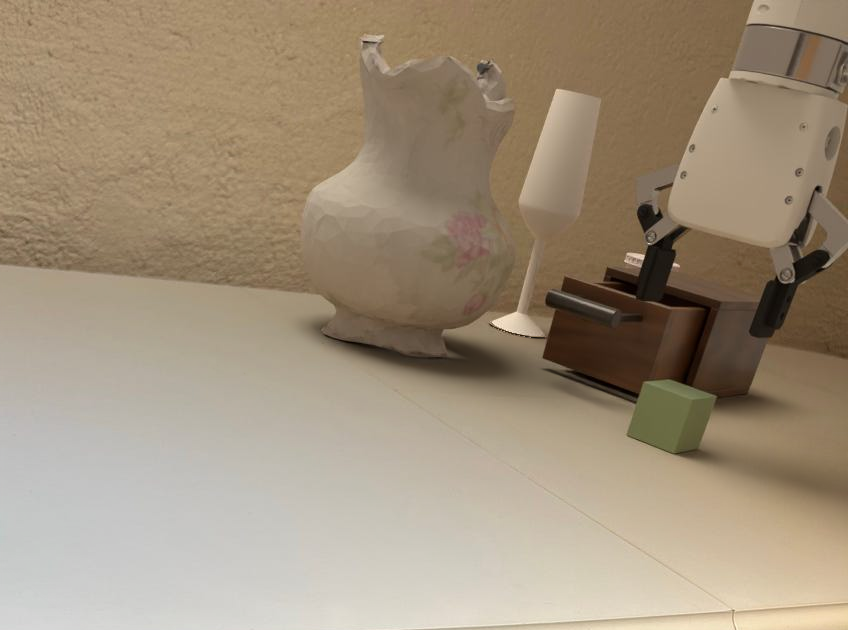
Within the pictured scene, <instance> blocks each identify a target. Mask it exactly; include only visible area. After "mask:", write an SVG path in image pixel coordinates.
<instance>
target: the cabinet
mask: <svg viewBox="0 0 848 630" xmlns="http://www.w3.org/2000/svg"><path fill="white" fill-rule="evenodd" d="M640 270H641V269H633V268H626V267H616V266H615V267H614V266H606V269H605V273H604V277H603V280H602V281H609V282H629V283H632V284H636V285H637V279H638V276H639V273H640ZM664 293H665V294H668V295H672V296H675V297H678V298H682V299H685V300H688V301H691V302H695V303H698V304H701V305H705V306H708V307H711V310H710V313H709V316H708V319H707V322H706V325H705V328H704V331H703V333H702V336H701V339H700V342H699V345H698V348H697V351H696V354H695V357H694V360H693V363H692V366H691V368H690V371H689V374H688V377H687V380H686V383H685V385H687V386H690V387H692V388H695V389H698V390H701V391H704V392H707V393H709V394H712V395H715V396H717V398H716V399H718V398H724V397H725V398H726V397H732V396H740V395H747V394H749V391H750V389H751V386H752V384H753V381H754V378H755V376H756V373H757V371H758V368H759V365H760V362H761V359H762V357H763V354H764V351H765V349H766V347H767V345H768V344H767V343H768V341H769V338H756V337H753V336H751V335H750V333H749V329H750V327H751V324H752V321H753V319H754V316H755V313H756V310H757V308H758V305H759V302H760V300H761V297H762V295H758V294H755V293H751V292H747V291H745V290H740V289H737V288H734V287H730V286H726V285H723V284H721V283H716V282H713V281H710V280H707V279H703V278H700V277H696V276H693V275H689V274H685V273H682V272H680V271H678V272H676V271H671V272H670V275H669V278H668V281H667V284H666V287H665V290H664Z"/></svg>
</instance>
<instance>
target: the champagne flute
mask: <svg viewBox="0 0 848 630" xmlns="http://www.w3.org/2000/svg"><path fill="white" fill-rule="evenodd" d="M601 103H602V98H601V97H597V96H594V95H590V94H586V93H581V92H576V91H572V90H566V89H561V88H556V89H555V91H554V95H553V97H552V100H551V103H550V106H549V109H548V112H547V114H546V118H545V120H544V124H543V127H542V130H541V132H540V135H539V139H538V141H537V145H536V147H535V150H534V153H533V157H532V160H531V162H530V165H529V168H528V171H527V174H526V177H525V180H524V183H523V185H522V189H521V191H520V195H519V197H518V208H519V212H520V213H519V214H520V216H521V219H522V220H523V222H524V224H525V226H526V228H527V229H528V232H529V233H530V234H531V236H532V237H533V238H534V243H533V246H532V250H531V255H530V258H529V261H528V266H527V270H526V273H525V277H524V282H523V284H522V285H523V286H522V289H521V293H520V297H519V301H518V305H517V308H516V311H514V312H511V313H509V314H506V315H503V316H502V317H499V318H496V319H494V320H491V321H492V323H493V324H494V325H495V326H497V327H499V328H502V329H504V330H506V331H509V332H512V333H517V334H522V335H529V336H541V335H543V333H544V332H543V330H542V329H541V328H540V327H539V326H538V324H537V323H535V322H534V320H533V319H532V318H531V316H529V315H528V312H529V311H528V310H529V308H530V303H531V301H532V300H531V299H532V296H533V292H534V290H535V289H534V288H535V284H536V280H537V277H538V276H537V275H538V273H539V269H540V265H541V261H542V258H543V254H544V250H545V248H546V247H545V246H546V243H547V241H550V240H552V239H555V238H556V237H558V236H559V235H561V234H562V233H564V232H565V231H567V230H568V229H569V228H571V226H573V225H574V224H575V222H576V221H578V219H579V218H580V215H581V212H582V206H583V201H584V195H585V191H586V184H587V179H588V174H589V169H590V163H591V158H592V153H593V147H594V141H595V136H596V131H597V126H598V120H599V115H600V109H601Z"/></svg>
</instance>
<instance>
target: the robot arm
mask: <svg viewBox="0 0 848 630" xmlns="http://www.w3.org/2000/svg"><path fill="white" fill-rule="evenodd" d="M847 85H848V0H753V2H752V4H751V9H750V11H749V14H748V17H747V20H746V24H745V27H744V29H743V32H742V36H741V39H740V42H739V45H738V48H737V51H736V53H735V56H734V60H733V62H732V66H731V69H730V72H729V74H728V78H725V77H720V78H719V80H718V82H717V84H716V85H715V87H714V89H713V91H712V93H711V95H710V96H709V98H708V100H707V101H706V104H705V106H704V108H703V109H702V112H701V114H700V116H699V118H698V120H697V122H696V124H695V127H694V128H693V132H692V134H691V137H690V139H689V141H688V143H687V146H686V148H685V151H684V154H683V156H682V159H681V161H680V162H679V163H675V164H672V165H670V166H667V167H663V168H661V169H658V170H654V171H652V172H649V173H646V174H643V175H640V176H638V177H637V178H636V180H635V184H634V188H635V197H636V205H637V207H638V208H637V210H636V215H637V216H636V217H637V219H638V222H639V224H640V227H641V229H642V231H643V242H644V243H645V244H646V245H647V248H646V251H645V254H644V255H645V257H644V260H643V263H642V266H641V270H640V273H639V276H638V279H637V286H638V290H637V293H636V299H637V300H640V301H651V302H658V301H660V300H661V299H662V296H663V293H664V290H665V287H666V284H667V281H668V278H669V275H670V272H671V269H672V266H673V263H675V259H676V256H677V250H676V249H674V248H673V246H674V244H675V243H676V242H678V240H680V239H682V237H684V236H685V235H687V234H688V233H689V232H691V230H695V231H696V230H697V231H699V232H704V233H707V234H711V235H714V236H718V237H721V238H726V239H730V240H733V241H737V242H741V243H743V244H748V245H752V246H756V247H761V248H767V249H768V251H769V254H770V257H771V261H772V264H773V267H774V270H775V273H776V275H775V277H774V279H769V280H768V281H767V282H766V284H765V286H764V289H763V292H762V295H761V296H762V297H761V300H760V302H759V305H758V308H757V310H756V313H755V316H754V319H753V321H752V324H751V327H750V329H749V333H750V335H751V336H753V337H756V338H768V339H771V338H772V337H773V336H774V334H775V332H776V331H778V330H780V329H781V328H782V327H783V326H784V323H785V321H786V318H787V316H788V312H789V310H790V308H791V305H792V302H793V300H794V297H795V294H796V292H797V290H798V287H799V286H801V285H804V284H805V283H806V282H807V281H808V280H809V279H811V278H813V277H815V276H816V275H818V274H820V273H822V272H824V271H826V270H827V269H829V268H831V267H832V266H833V264H834V262H835V261H836V260H837V259H838V258H839V257H841V255H843V254H844V252H846V251H847V249H848V218H847V217H845V215H843V213H842V212H841V211H840V210H839V209H838V208H837V207H836V206H835V205H834V204H833V203H832V201H830V200H829V199H828V197H827V195H828V191H829V189H830V185H831V181H832V179H833V174H834V171H835V168H836V165H837V160H838V156H839V152H840V147H841V144H842V139H843V135H844V131H845V125H846V120H847V114H848V104H847V103H845V102H842V101H840V100H838V98H839V96H840V94H843V93H844V91H845V88H846V86H847ZM670 188H671V190H670V194H669V198H668V202H667V211H666V212H667V214H665V216H664V215H663V213H662V209H660V207H659V195H660V193H661V192H662V191H663V190H667V189H670ZM818 224H819V225H820V226H821V227H822V228H823V229H824V231H825V232H826V239H825V240H824V241H823V242H822V243H821V244H820V246H819V247H818V248H817V249H816V250H813V251H811V252H810V253H808V254H807V255H805V256H804V254H803V251H802V250H803V249H804V248H807V246H808V245H809V244H810V242H811V240H812V239H813V236H814V233H815V230H816V228H817V226H818Z"/></svg>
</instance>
